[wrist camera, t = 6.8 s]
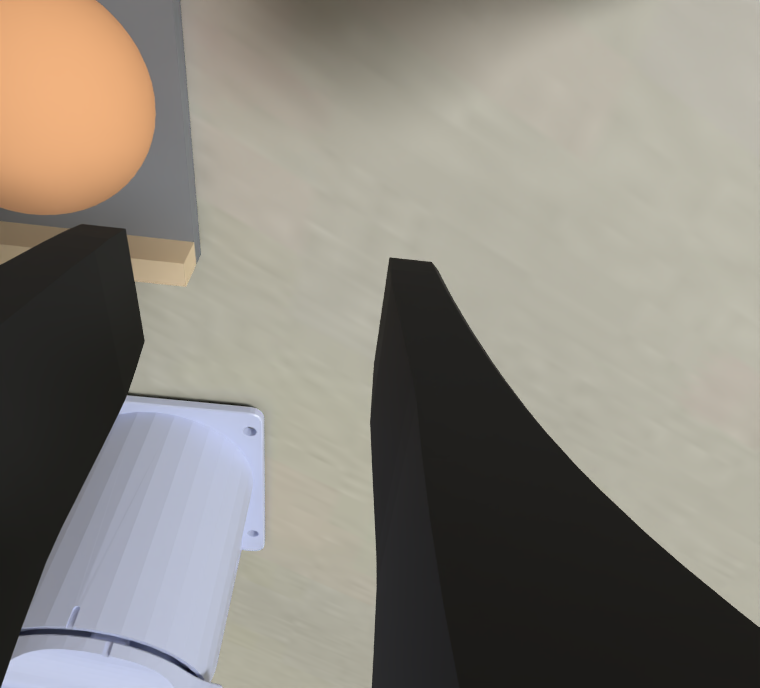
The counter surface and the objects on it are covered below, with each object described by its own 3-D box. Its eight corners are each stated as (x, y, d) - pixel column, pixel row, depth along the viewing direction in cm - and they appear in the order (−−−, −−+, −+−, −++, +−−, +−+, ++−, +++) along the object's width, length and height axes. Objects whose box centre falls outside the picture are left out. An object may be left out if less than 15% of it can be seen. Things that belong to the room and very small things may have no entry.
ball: (130, 148, 18) (198, 228, 15) (-74, 178, 15) (-42, 280, 12) (97, -55, 15) (176, -7, 12) (-165, -59, 12) (-151, 1, 9)
